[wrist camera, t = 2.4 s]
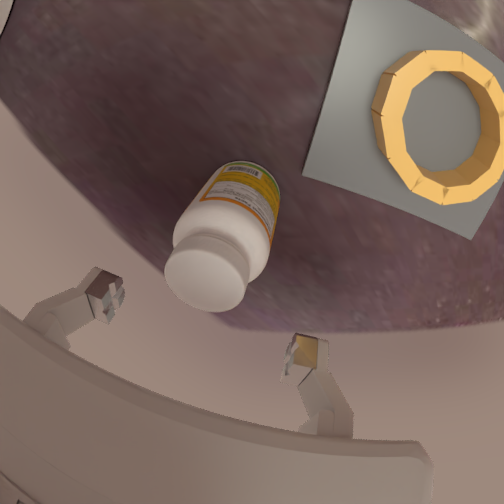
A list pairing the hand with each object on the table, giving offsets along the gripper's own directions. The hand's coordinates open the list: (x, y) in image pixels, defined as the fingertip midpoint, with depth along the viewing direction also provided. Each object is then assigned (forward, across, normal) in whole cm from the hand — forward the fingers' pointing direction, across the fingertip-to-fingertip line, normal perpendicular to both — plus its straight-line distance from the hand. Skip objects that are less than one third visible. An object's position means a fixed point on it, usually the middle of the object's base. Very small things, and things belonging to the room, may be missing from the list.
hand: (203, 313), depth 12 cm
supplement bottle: (+11, +1, 0) cm, 11 cm away
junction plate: (+11, -10, -10) cm, 18 cm away
